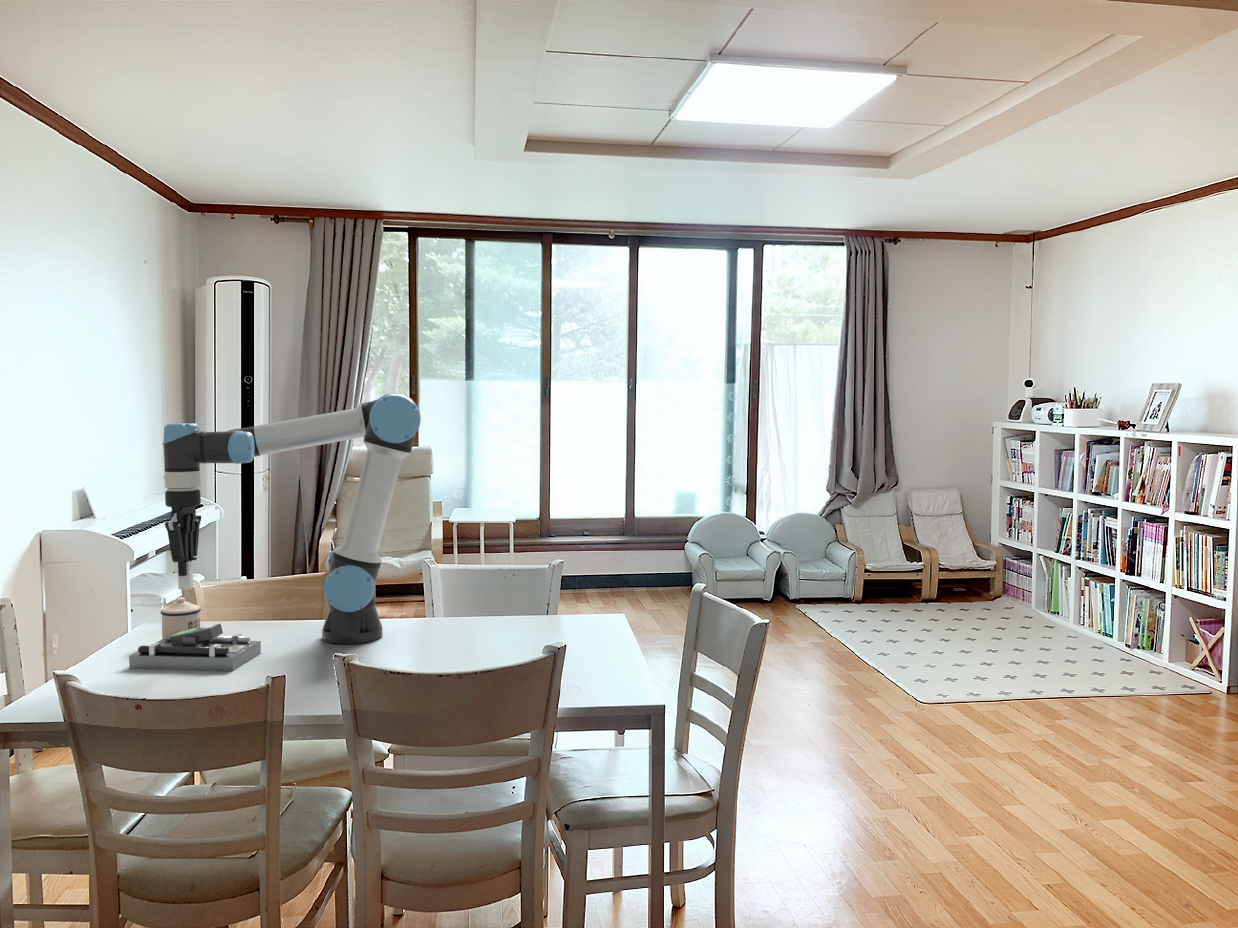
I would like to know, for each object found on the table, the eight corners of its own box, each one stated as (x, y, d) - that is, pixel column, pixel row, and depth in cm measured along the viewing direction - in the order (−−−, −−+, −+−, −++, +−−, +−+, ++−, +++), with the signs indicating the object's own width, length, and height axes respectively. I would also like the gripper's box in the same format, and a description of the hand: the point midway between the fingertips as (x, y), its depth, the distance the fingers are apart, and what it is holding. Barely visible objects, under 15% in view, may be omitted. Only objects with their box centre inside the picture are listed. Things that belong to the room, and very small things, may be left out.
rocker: (223, 633, 222) (220, 622, 222) (213, 638, 217) (210, 627, 217) (183, 642, 222) (180, 631, 222) (172, 647, 217) (169, 636, 217)
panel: (260, 653, 227) (260, 626, 226) (232, 670, 212) (232, 642, 211) (163, 650, 228) (163, 624, 227) (129, 668, 213) (128, 640, 212)
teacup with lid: (189, 649, 229) (188, 602, 229) (153, 648, 230) (152, 601, 229) (213, 637, 241) (213, 592, 241) (179, 636, 242) (178, 591, 241)
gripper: (180, 486, 225) (183, 583, 227) (152, 491, 212) (155, 594, 214) (211, 486, 225) (214, 583, 226) (184, 492, 212) (187, 594, 213)
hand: (185, 588), depth 220 cm, fingers closed
